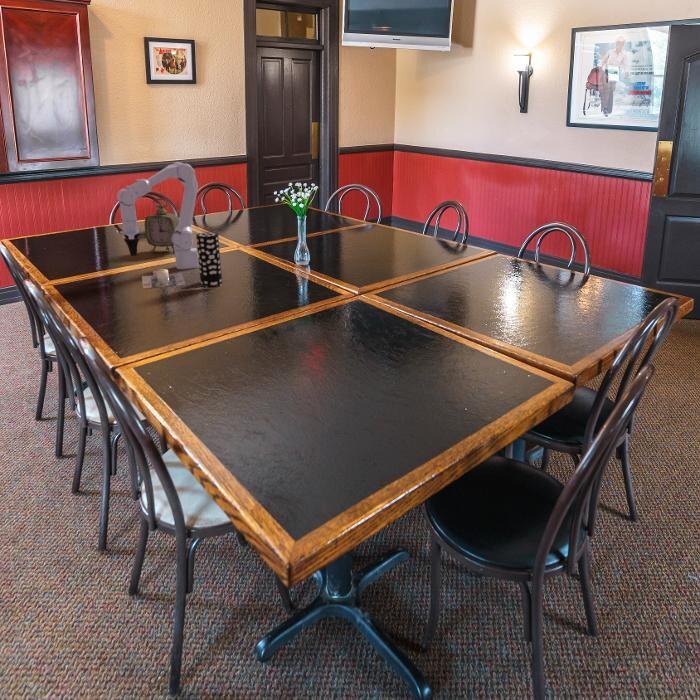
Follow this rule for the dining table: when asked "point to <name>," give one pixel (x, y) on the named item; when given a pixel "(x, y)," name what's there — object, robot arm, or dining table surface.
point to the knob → (162, 276)
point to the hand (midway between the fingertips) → (133, 253)
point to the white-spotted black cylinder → (209, 259)
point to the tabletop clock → (160, 227)
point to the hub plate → (153, 282)
